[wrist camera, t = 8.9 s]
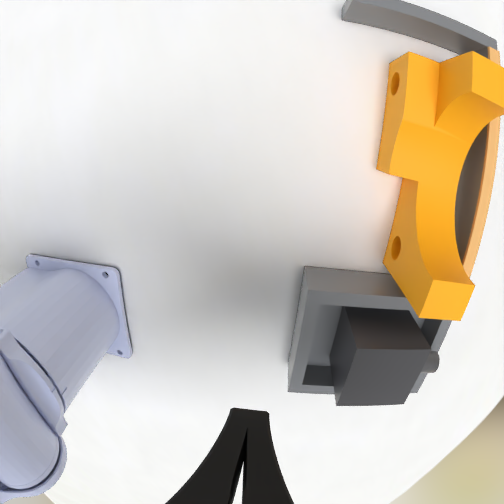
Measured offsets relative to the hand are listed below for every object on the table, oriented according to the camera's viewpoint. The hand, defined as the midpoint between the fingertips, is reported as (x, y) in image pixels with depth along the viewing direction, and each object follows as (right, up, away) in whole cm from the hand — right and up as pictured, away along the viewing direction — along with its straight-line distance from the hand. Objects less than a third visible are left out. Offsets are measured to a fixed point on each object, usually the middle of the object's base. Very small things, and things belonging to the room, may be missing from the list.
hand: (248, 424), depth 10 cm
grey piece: (+8, +9, +6) cm, 14 cm away
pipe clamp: (+9, +12, +6) cm, 16 cm away
